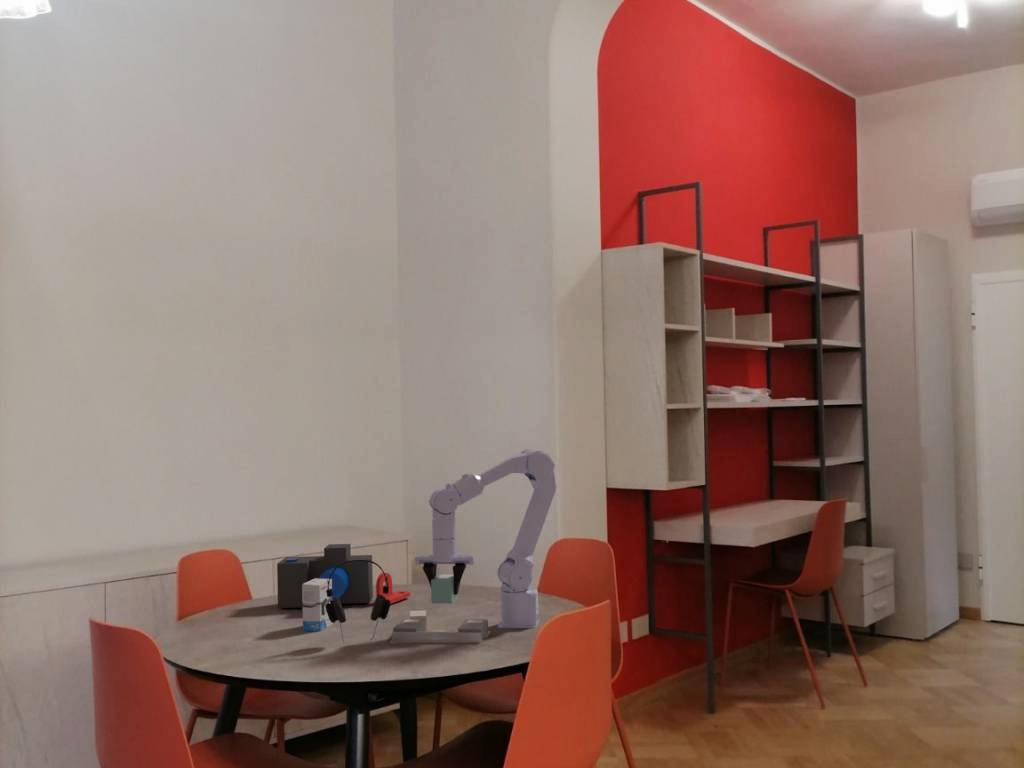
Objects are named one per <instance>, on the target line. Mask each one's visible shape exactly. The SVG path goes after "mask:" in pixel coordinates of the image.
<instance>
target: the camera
mask: <svg viewBox="0 0 1024 768" xmlns="http://www.w3.org/2000/svg"><path fill="white" fill-rule="evenodd" d="M352 559H367V560H371V561H373V555H372V554H363V555H362V554H360V555H358V554H357V555H354V554H353V555H352V553H351V544H350V543H338V544H337V543H331V544H328V545H326V546H325V547H324V548H323V555H319V556H317V555H315V556H314V555H313V556H310V555H309V556H285V558H283V559H281V560H280V561H278V562H277V563H276V570H277V571H276V572H277V573H276V574H277V575H276V576H277V577H276V579H277V580H276V581H277V608H278V609H285V608H286V609H288V608H303V604H302V585H303V584H304V583H306V582H308V581H310V580H312V579H316V578H317V579H329V578H330V575H331V573H332V572H333V570H334V569H335V567H337V566H338V565H339V564H341V563H343V562H345V561H347V560H352ZM330 579H332V593H333V596H332V600H333V598H335V597H338V598H339V599H340V602H341V604H370V603H371V601H372V600H373V598H374V585H373V583H374V582H373V581H374V580H373V563H371V562H366V561H351V562H348V563H345V564H342V565H341V566H339V567H338V568H337V569H336V570H335V571H334V572H333V574H332V576H331V578H330Z"/></svg>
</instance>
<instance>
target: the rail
mask: <svg viewBox="0 0 1024 768" xmlns="http://www.w3.org/2000/svg"><path fill="white" fill-rule="evenodd" d="M455 631H456V630H440V631H393V630H392V631H391V641H392V642H411V644H412V643H417V644H418V643H421V644H422V643H425V644H427V643H429V644H431V643H433V644H434V643H438V644H440V643H442V644H443V643H444V644H447V643H450V644H455V643H456V644H460V643H461V644H475V643H476V644H481V643H482V642H483V641H482V638H481V632H455Z"/></svg>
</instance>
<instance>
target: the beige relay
mask: <svg viewBox="0 0 1024 768" xmlns="http://www.w3.org/2000/svg"><path fill="white" fill-rule="evenodd" d="M409 619H425V630H427V611H426V609H424V610H410V611H409Z"/></svg>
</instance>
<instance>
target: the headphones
mask: <svg viewBox="0 0 1024 768" xmlns="http://www.w3.org/2000/svg"><path fill="white" fill-rule="evenodd" d="M351 561H366V562H371V563H372V565H375V566H377V567H378V568H379V569H380V570H381V572H382V573H384V576H385V573H386V572H385V571H384V570H383V568H382V567H381V566H380V565H379V564H378V563H377V562H375V561H373V560H372V561H371V560H367V559H352V560H347V561H345V562H343V563H341V564H339V565H338V566H337V567H335V569H334V570H333V572H334V571H335V570H336V569H337V568H338V567H339V566H341V565H342V564H345V563H348V562H351ZM333 572H332V573H331V575H330V578H331V576H332V574H333ZM330 578H329V581H328V580H327V582H328V589H327V590H326V592H327V597H330V600H331V596H333V593H332V589H329V582H330ZM387 578H388V577H386V576H385V579H386V585H387ZM388 591H389V586H388V585H387V586H385V585H383V593H385V595H386V594H388ZM390 603H391V602H390V600H388V599H386V598H385V596H384V597H383V596H382V595H378V596H377V597H376V596H375V599H374V602H373V605H372V610H371V614H370V619H371V621H375V622H376V621H377V622H376V624H375V628H374V630H377V629H376V628H377V625H378V621H379V620H380V619H381V620H383V621H384V620H385V619H387V617H388V614H389V611H390V608H391V604H390ZM325 607H326V611H327V614H328V617H329V619H330V621H331V622H332V623H333V624H334V623H336V621H337V622H339V625H340V629H341V630H340V631H341V632H343V629H342V623H345V622H346V621H347V617H346V613H345V610H344V608H343V605H342V604H341V602H340V599H339V598H338V597H335V598H333V600H331V601H330V603H327V604H326V605H325ZM375 633H376V631H374V632H373V635H372V637H371V638H370V641H368V643H370V642H371V641H372V640H373V638H374V637H375ZM341 637H342V639H344V637H343V634H341ZM342 642H343V643H344V642H345V641H344V640H342Z"/></svg>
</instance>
